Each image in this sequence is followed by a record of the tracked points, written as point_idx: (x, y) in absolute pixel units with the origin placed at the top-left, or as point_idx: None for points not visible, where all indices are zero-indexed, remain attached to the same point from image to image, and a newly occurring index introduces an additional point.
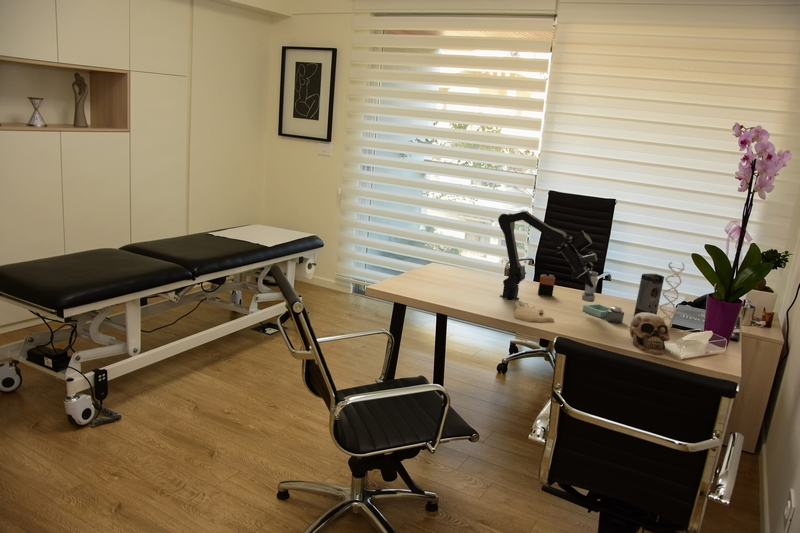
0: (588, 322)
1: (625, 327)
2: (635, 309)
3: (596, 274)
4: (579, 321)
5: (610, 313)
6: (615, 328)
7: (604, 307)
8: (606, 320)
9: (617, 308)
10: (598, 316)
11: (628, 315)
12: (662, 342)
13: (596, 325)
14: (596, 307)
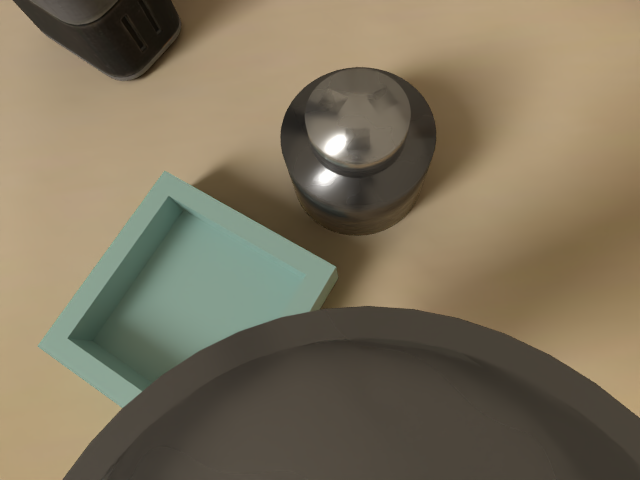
0: (586, 337)
1: (452, 84)
2: (107, 33)
3: (559, 377)
4: (636, 414)
5: (427, 168)
6: (550, 132)
7: (115, 277)
8: (400, 219)
9: (372, 100)
10: (327, 295)
11: (95, 118)
12: None
13: (613, 262)
14: (101, 352)
